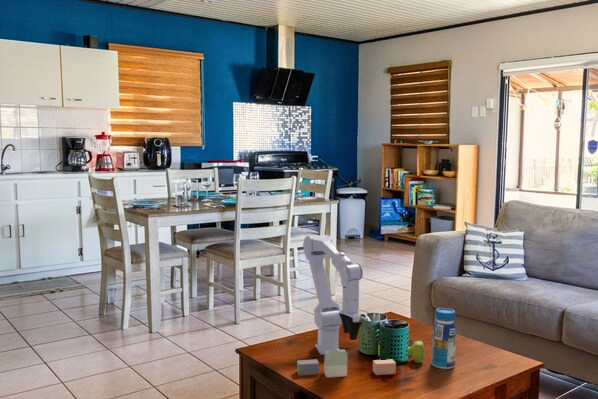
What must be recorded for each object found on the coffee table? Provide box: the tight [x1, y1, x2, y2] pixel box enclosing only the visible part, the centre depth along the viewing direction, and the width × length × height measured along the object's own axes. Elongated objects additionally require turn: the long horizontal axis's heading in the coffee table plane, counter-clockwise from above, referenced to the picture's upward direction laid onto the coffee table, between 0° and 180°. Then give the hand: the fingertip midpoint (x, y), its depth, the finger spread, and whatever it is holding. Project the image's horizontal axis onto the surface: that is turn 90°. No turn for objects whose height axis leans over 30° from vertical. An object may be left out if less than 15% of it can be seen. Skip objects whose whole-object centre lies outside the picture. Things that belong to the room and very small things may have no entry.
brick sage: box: [324, 349, 348, 366], centre depth 200 cm, size 4×7×4 cm, turn 101°
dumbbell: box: [377, 340, 425, 364], centre depth 214 cm, size 16×8×7 cm, turn 77°
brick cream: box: [323, 361, 348, 378], centre depth 200 cm, size 4×7×4 cm, turn 101°
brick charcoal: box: [296, 358, 320, 376], centre depth 201 cm, size 4×7×4 cm, turn 101°
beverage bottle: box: [431, 307, 458, 370], centre depth 209 cm, size 8×8×20 cm
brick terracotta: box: [372, 358, 397, 376], centre depth 203 cm, size 4×7×4 cm, turn 101°
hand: (350, 336), depth 208 cm, fingers open, 7 cm apart
